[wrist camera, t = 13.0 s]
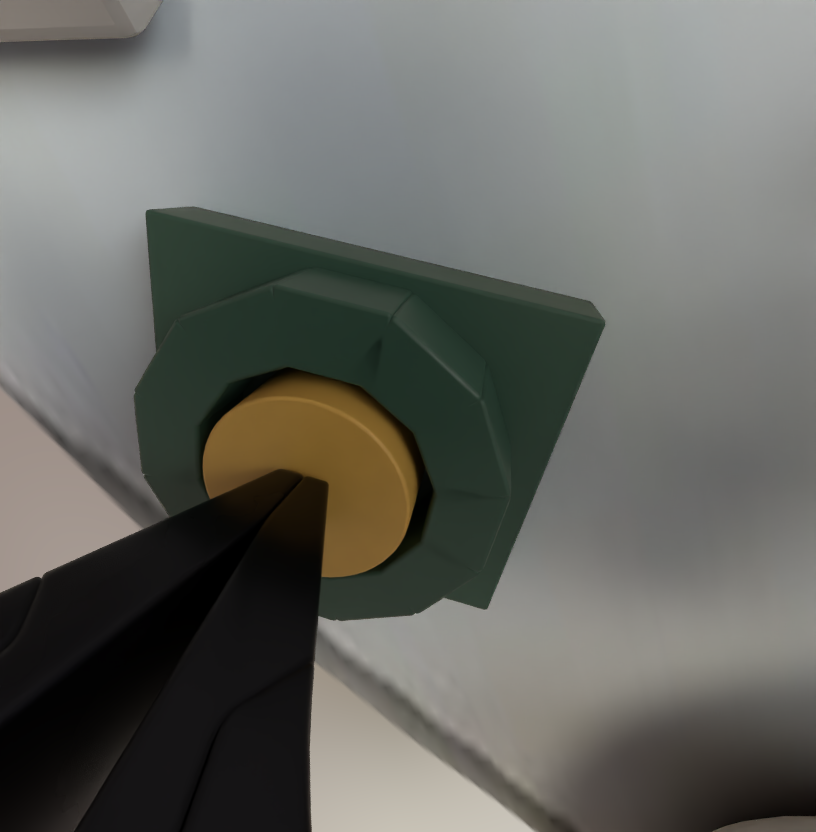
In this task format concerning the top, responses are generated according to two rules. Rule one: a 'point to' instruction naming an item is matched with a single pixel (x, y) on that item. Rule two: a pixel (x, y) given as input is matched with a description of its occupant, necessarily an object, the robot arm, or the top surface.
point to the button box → (366, 383)
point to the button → (325, 460)
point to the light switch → (74, 19)
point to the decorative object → (774, 825)
